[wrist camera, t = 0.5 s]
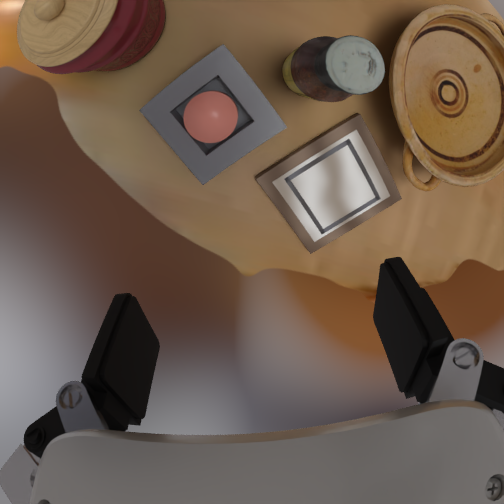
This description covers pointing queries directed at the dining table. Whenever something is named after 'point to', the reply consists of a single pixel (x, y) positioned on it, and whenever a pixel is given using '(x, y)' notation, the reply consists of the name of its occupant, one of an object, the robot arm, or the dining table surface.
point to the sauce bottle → (334, 68)
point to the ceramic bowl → (450, 95)
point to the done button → (211, 116)
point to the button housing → (218, 79)
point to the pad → (331, 183)
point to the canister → (88, 33)
